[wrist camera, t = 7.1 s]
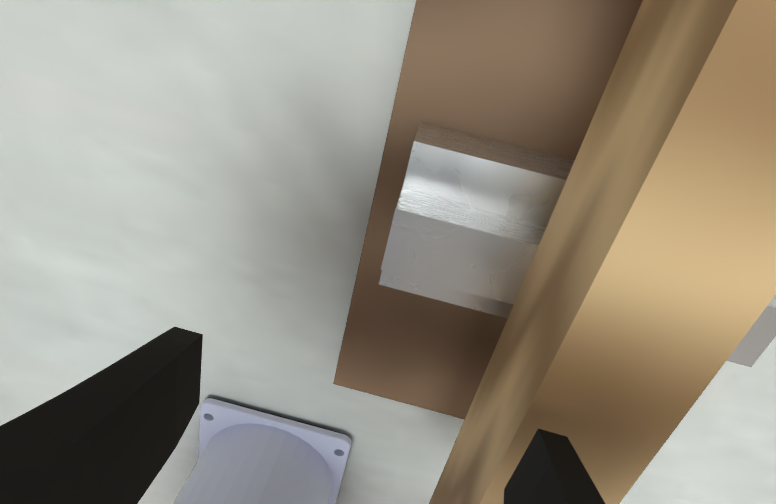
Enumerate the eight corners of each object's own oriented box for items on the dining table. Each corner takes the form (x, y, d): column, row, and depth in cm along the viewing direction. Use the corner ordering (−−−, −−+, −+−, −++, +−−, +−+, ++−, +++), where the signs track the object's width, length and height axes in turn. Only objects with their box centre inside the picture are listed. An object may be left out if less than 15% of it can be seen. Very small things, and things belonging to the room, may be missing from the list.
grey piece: (672, 324, 18) (722, 403, 15) (389, 249, 18) (370, 309, 15) (750, 204, 16) (831, 265, 12) (421, 120, 16) (408, 156, 12)
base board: (606, 440, 23) (611, 458, 22) (338, 368, 23) (333, 383, 22) (930, -53, 13) (964, -57, 12) (455, -167, 13) (455, -178, 12)
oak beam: (501, 529, 19) (509, 650, 15) (426, 508, 19) (417, 624, 15) (925, -211, 8) (1272, -369, 5) (749, -253, 8) (959, -436, 5)
